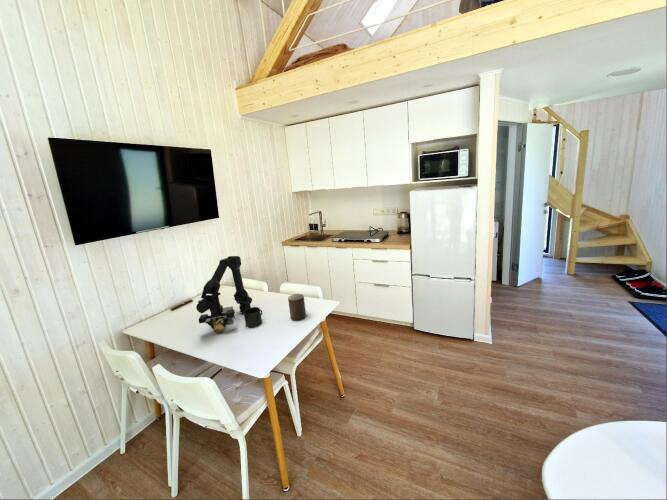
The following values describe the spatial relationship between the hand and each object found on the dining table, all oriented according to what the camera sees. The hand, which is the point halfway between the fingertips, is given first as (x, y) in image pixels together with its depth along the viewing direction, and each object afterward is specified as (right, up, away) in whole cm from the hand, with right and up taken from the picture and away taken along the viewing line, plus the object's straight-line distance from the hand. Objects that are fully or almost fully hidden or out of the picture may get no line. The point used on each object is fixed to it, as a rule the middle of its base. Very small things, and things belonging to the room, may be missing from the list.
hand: (219, 329), depth 158 cm
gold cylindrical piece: (-1, -1, +5) cm, 5 cm away
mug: (+19, +1, +8) cm, 20 cm away
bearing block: (-3, +1, +13) cm, 13 cm away
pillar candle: (+45, +5, +10) cm, 46 cm away
